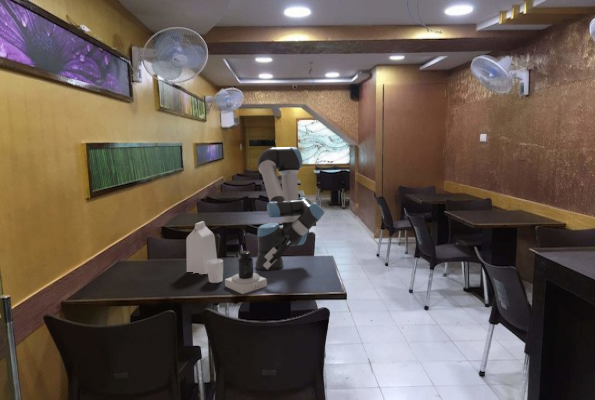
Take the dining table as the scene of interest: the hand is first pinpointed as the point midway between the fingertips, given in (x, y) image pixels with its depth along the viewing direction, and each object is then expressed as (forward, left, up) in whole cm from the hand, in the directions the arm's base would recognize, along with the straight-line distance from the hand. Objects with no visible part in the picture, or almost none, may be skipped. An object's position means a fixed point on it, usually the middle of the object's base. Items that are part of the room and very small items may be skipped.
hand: (265, 262), depth 191 cm
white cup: (-23, -13, -11) cm, 29 cm away
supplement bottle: (-6, -7, -7) cm, 12 cm away
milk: (-43, -9, -11) cm, 46 cm away
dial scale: (-6, -7, -11) cm, 15 cm away
